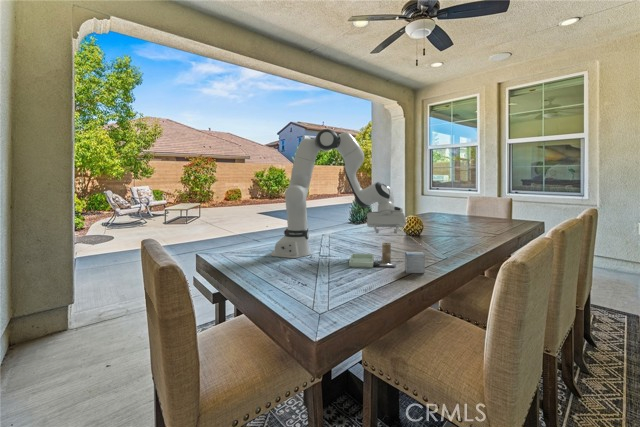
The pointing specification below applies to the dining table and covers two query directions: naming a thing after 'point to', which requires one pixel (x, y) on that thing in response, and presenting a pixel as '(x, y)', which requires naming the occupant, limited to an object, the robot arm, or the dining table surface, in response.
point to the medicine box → (414, 262)
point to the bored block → (386, 252)
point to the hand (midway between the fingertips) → (386, 232)
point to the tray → (361, 260)
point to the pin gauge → (383, 265)
